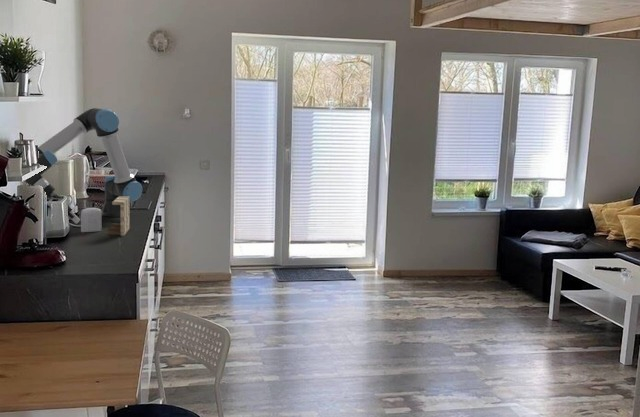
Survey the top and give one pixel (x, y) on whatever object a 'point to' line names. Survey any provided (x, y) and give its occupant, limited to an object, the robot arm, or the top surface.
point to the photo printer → (90, 220)
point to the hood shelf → (125, 217)
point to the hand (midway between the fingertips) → (78, 222)
